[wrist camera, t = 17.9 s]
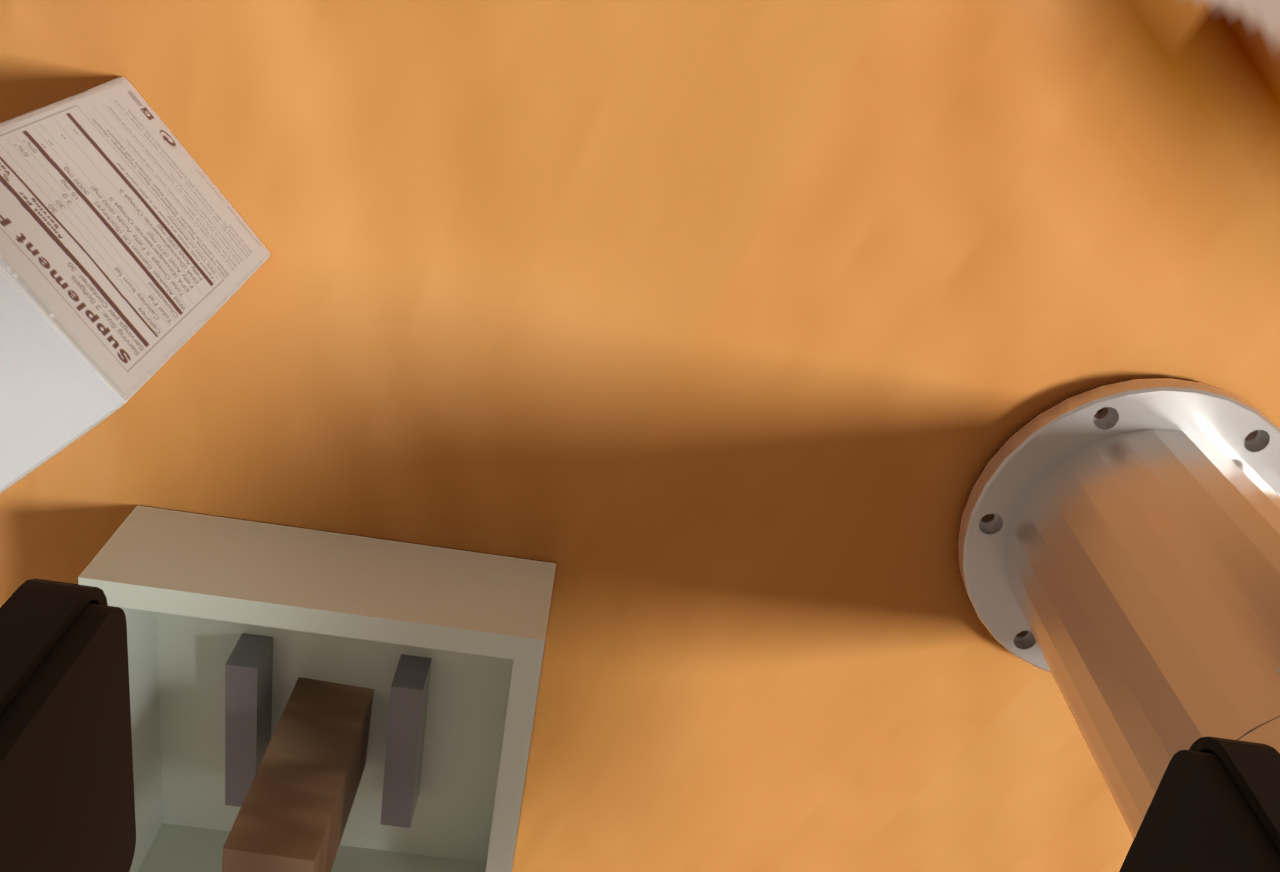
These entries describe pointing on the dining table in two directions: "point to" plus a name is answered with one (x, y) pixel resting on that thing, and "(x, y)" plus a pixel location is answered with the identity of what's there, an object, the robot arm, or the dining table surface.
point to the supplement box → (101, 264)
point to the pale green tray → (333, 652)
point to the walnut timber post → (304, 782)
